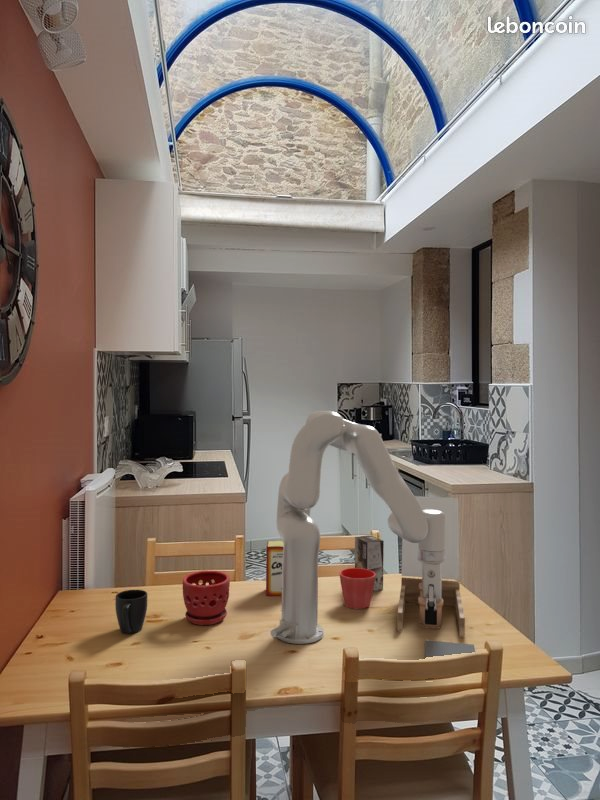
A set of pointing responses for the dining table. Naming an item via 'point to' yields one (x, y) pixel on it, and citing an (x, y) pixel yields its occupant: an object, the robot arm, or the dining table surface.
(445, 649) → the rubber mat
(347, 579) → the flower pot
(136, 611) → the mug
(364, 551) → the coffee box
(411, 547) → the lid
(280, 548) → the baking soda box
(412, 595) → the wooden open tray
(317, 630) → the robot arm
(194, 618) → the plant pot
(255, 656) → the dining table surface
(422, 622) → the small pot
